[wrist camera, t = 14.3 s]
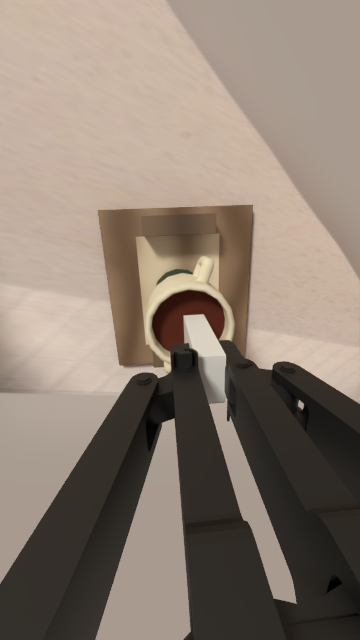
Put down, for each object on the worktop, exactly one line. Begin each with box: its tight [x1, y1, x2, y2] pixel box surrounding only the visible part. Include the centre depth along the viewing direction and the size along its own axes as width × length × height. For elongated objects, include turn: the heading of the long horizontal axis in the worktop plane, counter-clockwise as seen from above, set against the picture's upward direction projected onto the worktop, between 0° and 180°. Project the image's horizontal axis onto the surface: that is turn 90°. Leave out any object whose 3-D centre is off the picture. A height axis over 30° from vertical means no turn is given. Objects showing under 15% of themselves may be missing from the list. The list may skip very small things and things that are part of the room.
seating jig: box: [98, 205, 253, 368], centre depth 30 cm, size 18×20×4 cm
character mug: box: [145, 256, 235, 373], centre depth 25 cm, size 11×7×13 cm, turn 161°
